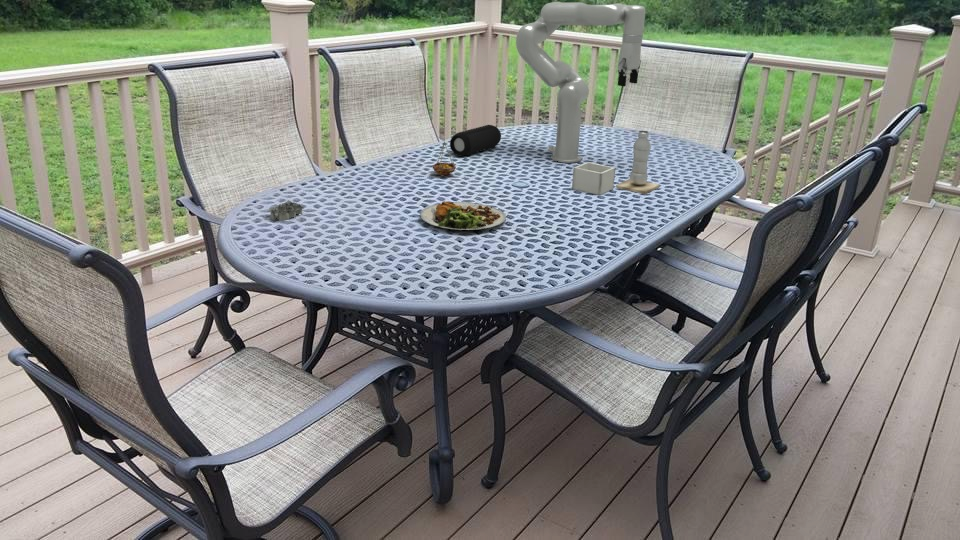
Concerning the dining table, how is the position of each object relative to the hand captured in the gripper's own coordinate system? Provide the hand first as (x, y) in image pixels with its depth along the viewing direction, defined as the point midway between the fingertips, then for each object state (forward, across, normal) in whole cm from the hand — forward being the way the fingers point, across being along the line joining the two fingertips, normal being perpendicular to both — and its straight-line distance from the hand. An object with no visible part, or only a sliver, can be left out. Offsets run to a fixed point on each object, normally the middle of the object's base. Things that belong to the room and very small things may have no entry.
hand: (627, 84), depth 311 cm
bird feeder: (+34, +58, -44) cm, 81 cm away
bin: (+33, +35, +8) cm, 49 cm away
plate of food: (+34, +94, -6) cm, 101 cm away
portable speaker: (+34, +20, -58) cm, 70 cm away
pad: (+33, +21, +19) cm, 44 cm away
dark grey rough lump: (+34, +129, -51) cm, 143 cm away
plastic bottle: (+32, +21, +19) cm, 43 cm away
